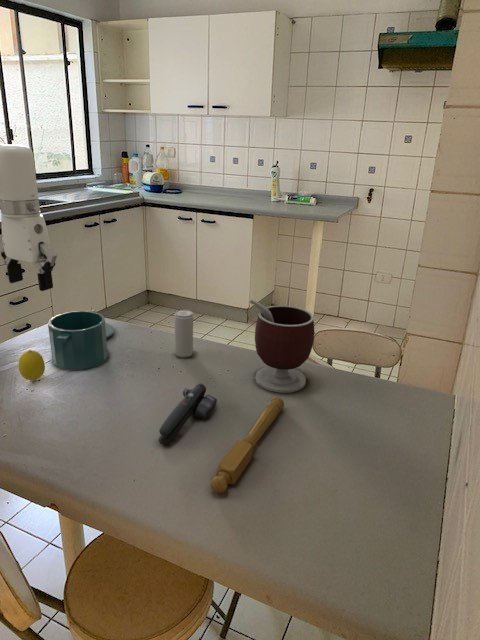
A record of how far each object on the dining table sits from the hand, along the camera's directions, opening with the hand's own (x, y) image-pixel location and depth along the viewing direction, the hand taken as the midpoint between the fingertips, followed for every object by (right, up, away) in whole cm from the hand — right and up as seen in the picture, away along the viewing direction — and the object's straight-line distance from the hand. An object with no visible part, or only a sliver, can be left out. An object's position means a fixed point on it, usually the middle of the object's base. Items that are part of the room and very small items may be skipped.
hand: (31, 285), depth 103 cm
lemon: (-2, -22, +5) cm, 23 cm away
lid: (+3, -11, +30) cm, 32 cm away
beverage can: (+32, -17, +21) cm, 42 cm away
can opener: (+35, -29, -8) cm, 47 cm away
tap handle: (+49, -32, -14) cm, 60 cm away
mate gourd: (+56, -23, +10) cm, 61 cm away
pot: (+5, -18, +17) cm, 25 cm away
